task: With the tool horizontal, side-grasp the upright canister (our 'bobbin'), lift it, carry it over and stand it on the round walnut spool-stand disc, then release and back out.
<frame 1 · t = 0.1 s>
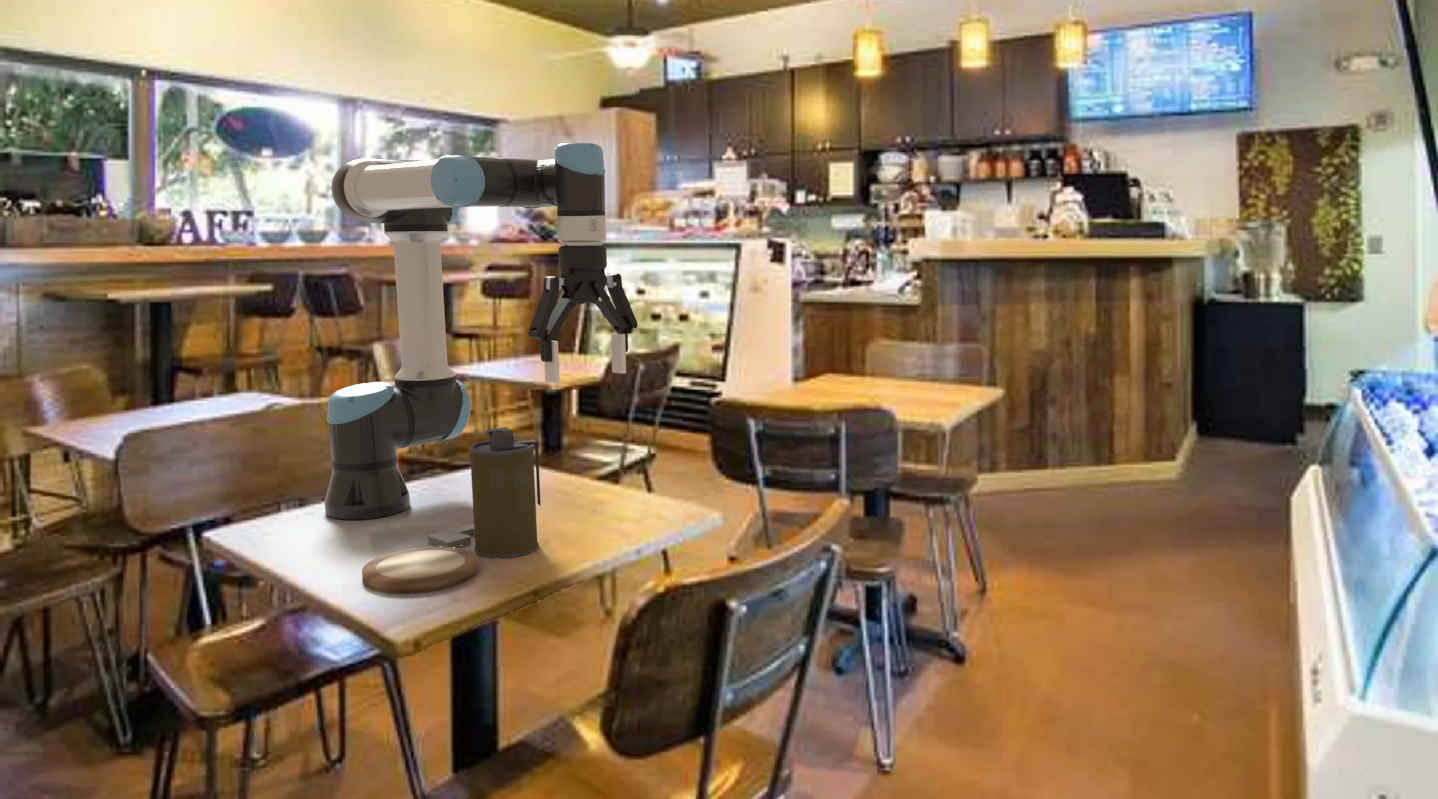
hand: (586, 377, 161), 28 cm above the table, tool pointing down, fingers open, 13 cm apart
spool stand: (421, 573, 152), on the table
notched board: (468, 537, 170), on the table
canister: (508, 549, 164), on the table
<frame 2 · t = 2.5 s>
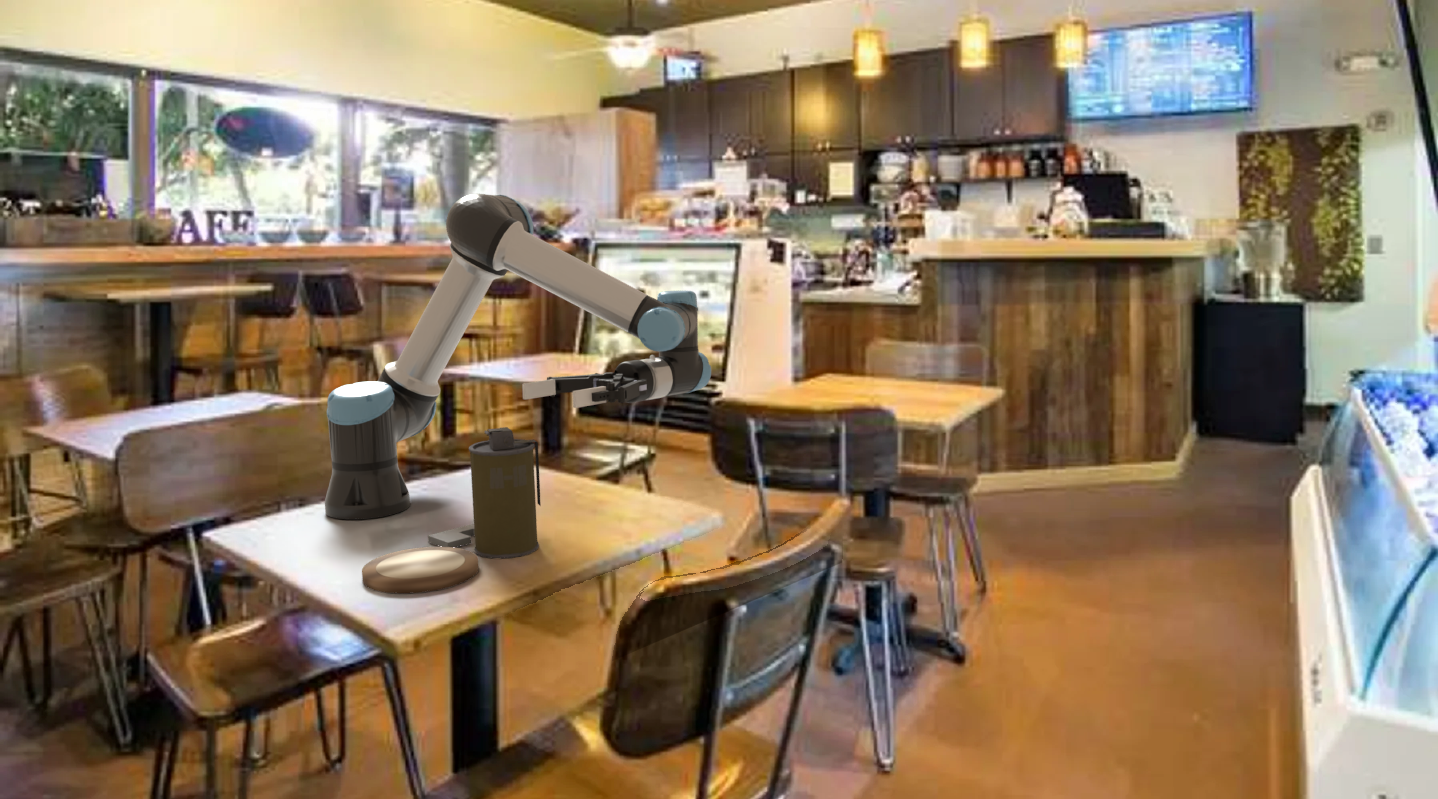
hand: (548, 395, 167), 24 cm above the table, tool horizontal, fingers open, 13 cm apart
nothing on the table moved.
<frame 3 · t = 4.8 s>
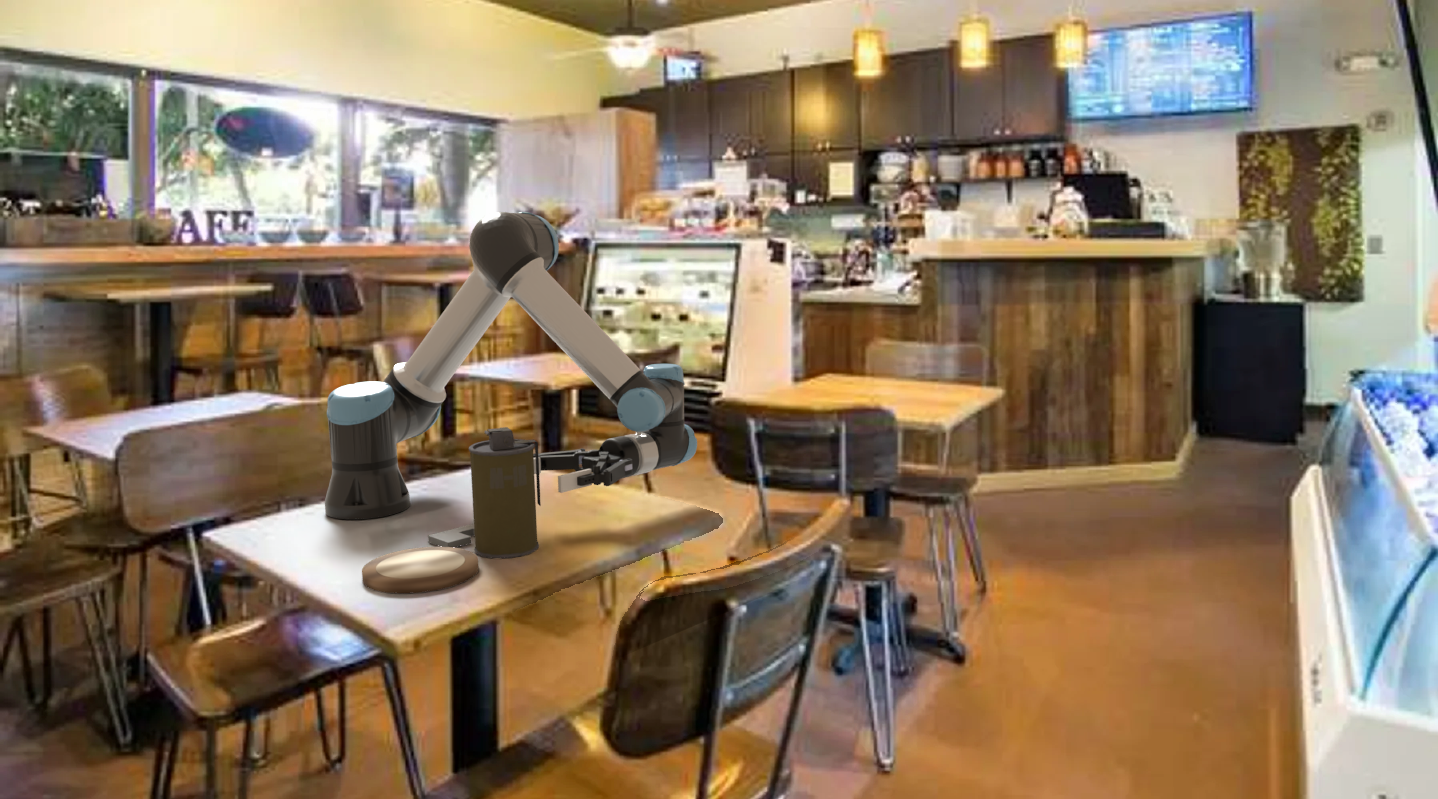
hand: (533, 477, 166), 11 cm above the table, tool horizontal, fingers open, 13 cm apart
nothing on the table moved.
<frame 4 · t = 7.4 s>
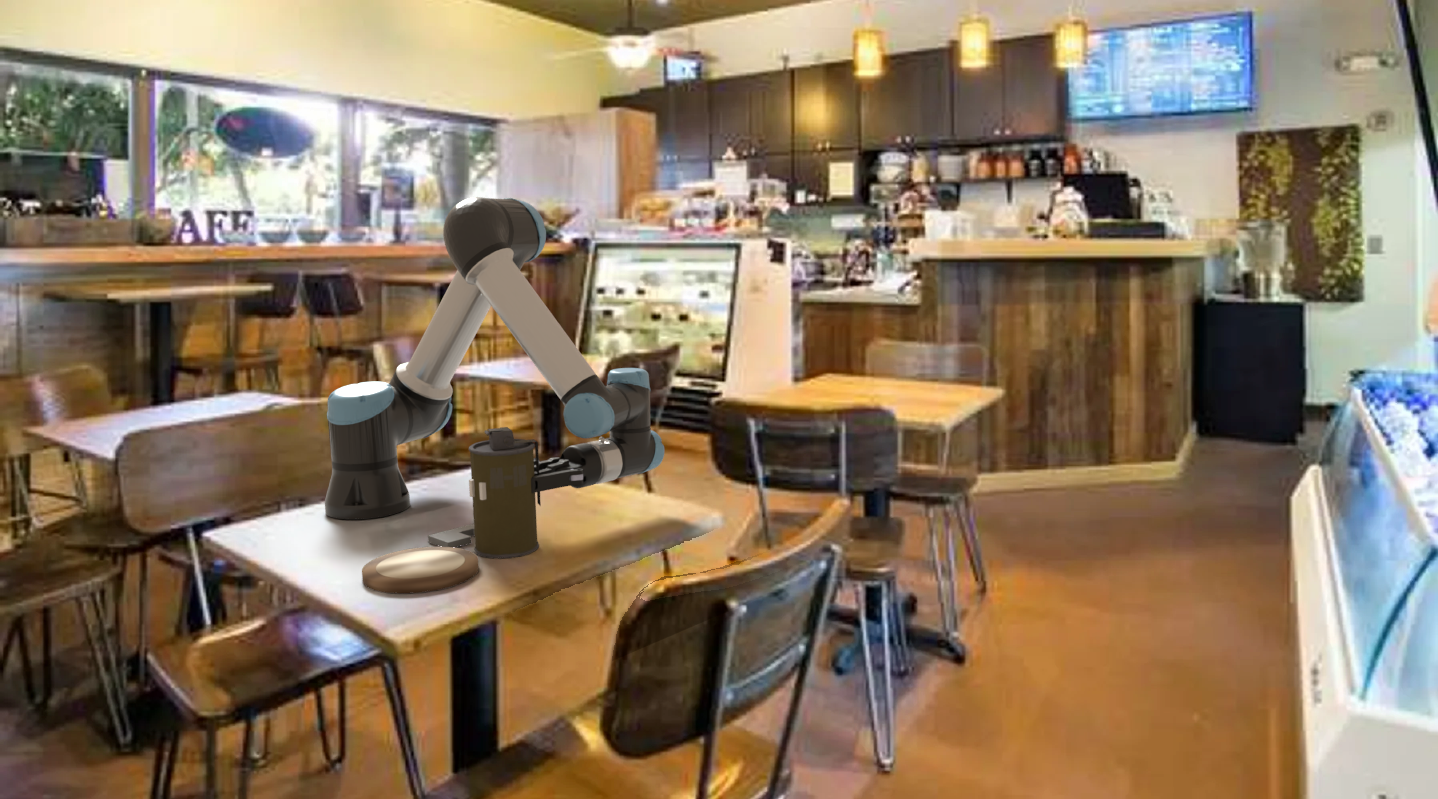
hand: (475, 489, 158), 11 cm above the table, tool horizontal, fingers closed on canister, 2 cm apart
canister: (508, 549, 164), on the table, touching gripper
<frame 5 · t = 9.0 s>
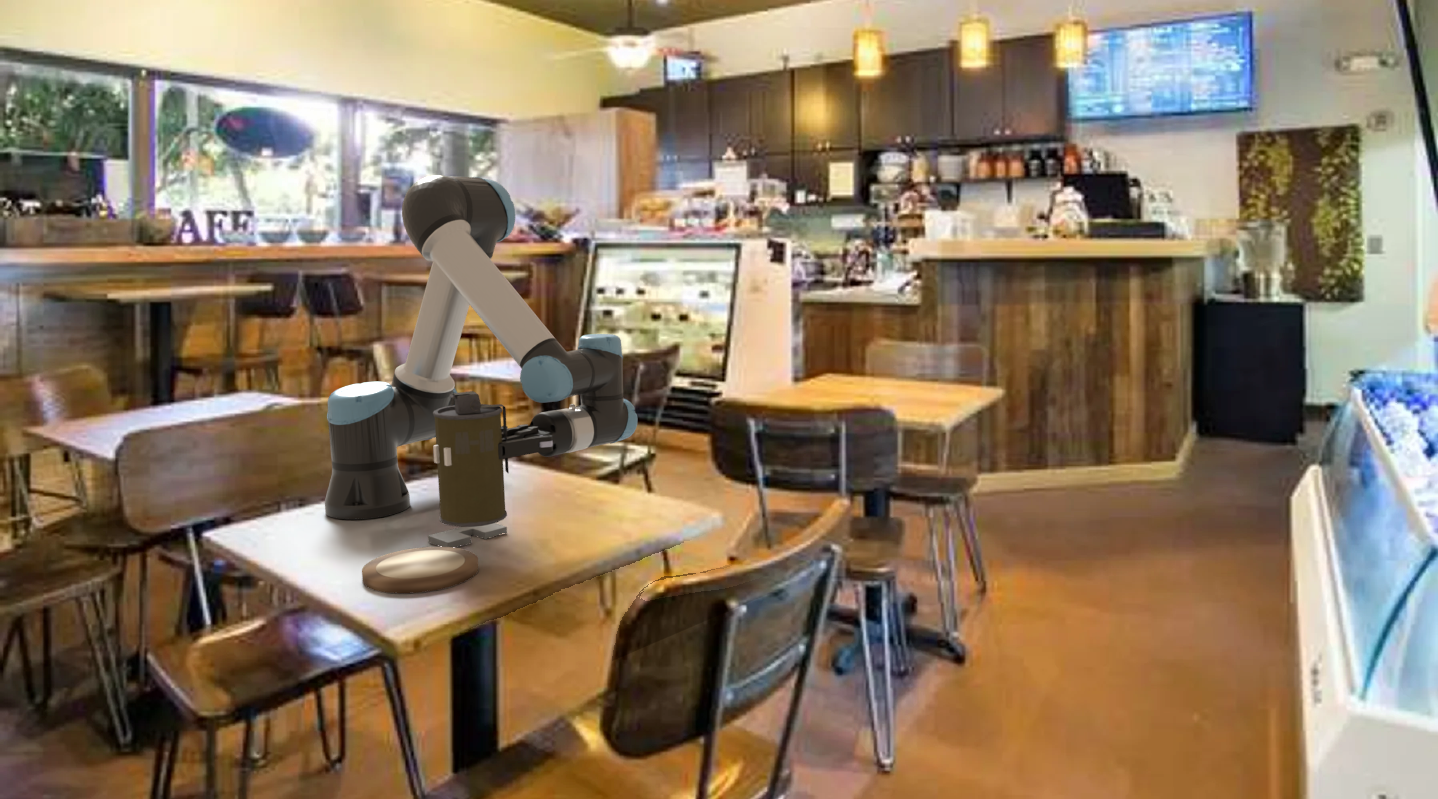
hand: (440, 455, 152), 18 cm above the table, tool horizontal, fingers closed on canister, 2 cm apart
canister: (475, 518, 158), point 7 cm above the table, touching gripper
when the fingers open (14 cm above the table, at t = 10.9 s): canister drops 1 cm, resting on spool stand.
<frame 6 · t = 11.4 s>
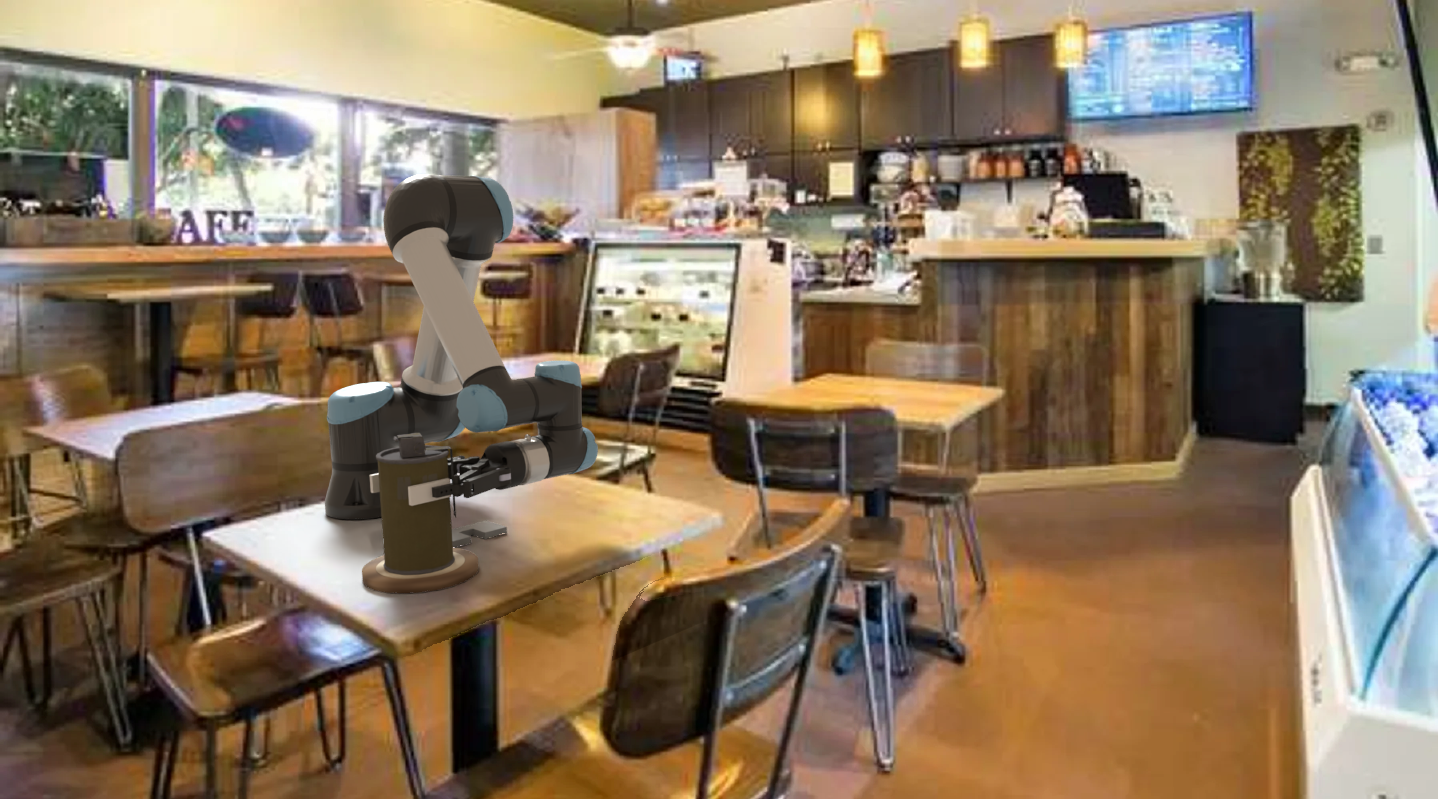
hand: (390, 490, 147), 14 cm above the table, tool horizontal, fingers open, 10 cm apart
canister: (421, 564, 152), point 1 cm above the table, touching spool stand
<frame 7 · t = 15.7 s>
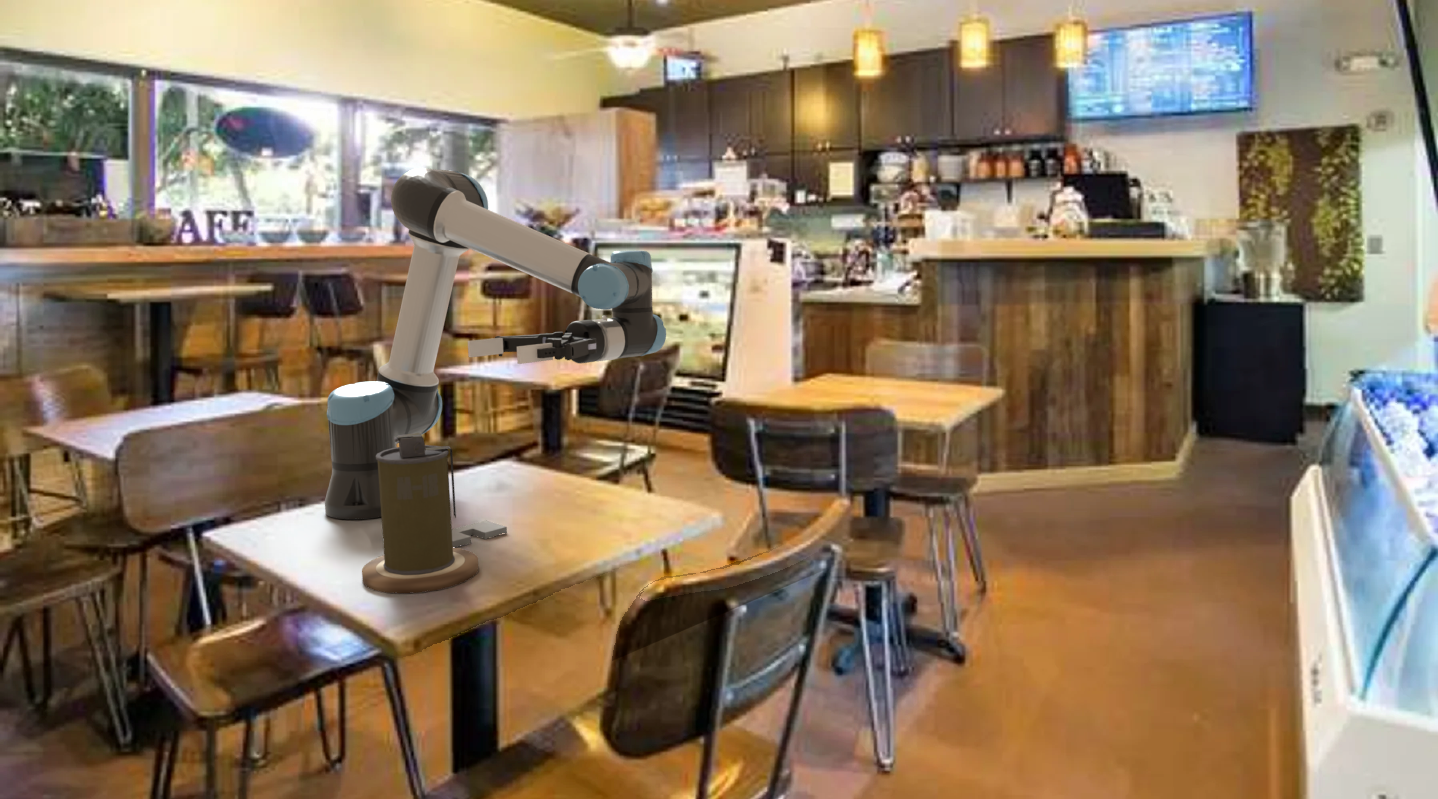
hand: (493, 352, 162), 32 cm above the table, tool horizontal, fingers open, 13 cm apart
nothing on the table moved.
at the end: canister inside the target area on the spool stand (0.1 cm from its centre), point 1.4 cm above the spool stand's base; canister tilted 0°; the gripper is holding nothing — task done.
